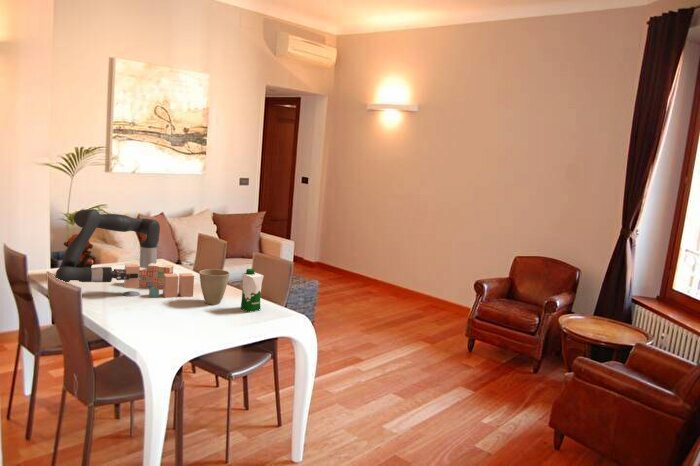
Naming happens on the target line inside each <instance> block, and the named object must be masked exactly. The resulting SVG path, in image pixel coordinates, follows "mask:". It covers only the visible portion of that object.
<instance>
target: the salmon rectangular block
mask: <svg viewBox="0 0 700 466" xmlns="http://www.w3.org/2000/svg"><path fill="white" fill-rule="evenodd" d="M178 290H179V276H178V274H177V273H173V274H164V276H163V289H162V296H163V297H164V298H165V299H166V298H167V299H168V298H178V296H179V294H178Z"/></svg>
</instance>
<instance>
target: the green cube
mask: <svg viewBox="0 0 700 466" xmlns="http://www.w3.org/2000/svg"><path fill="white" fill-rule="evenodd" d="M148 288H149V290H148V297H149V298H151V299H153V298H159V297H160V296H159V295H160V290H159V289H160V288H150V287H148Z"/></svg>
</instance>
